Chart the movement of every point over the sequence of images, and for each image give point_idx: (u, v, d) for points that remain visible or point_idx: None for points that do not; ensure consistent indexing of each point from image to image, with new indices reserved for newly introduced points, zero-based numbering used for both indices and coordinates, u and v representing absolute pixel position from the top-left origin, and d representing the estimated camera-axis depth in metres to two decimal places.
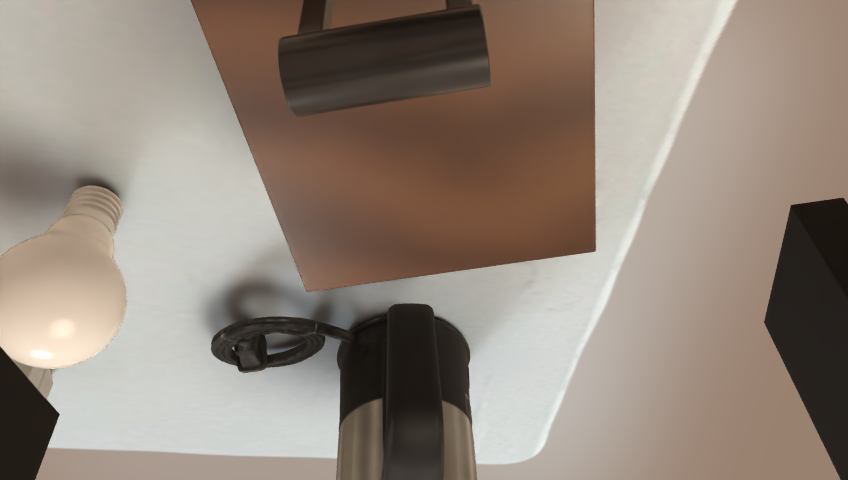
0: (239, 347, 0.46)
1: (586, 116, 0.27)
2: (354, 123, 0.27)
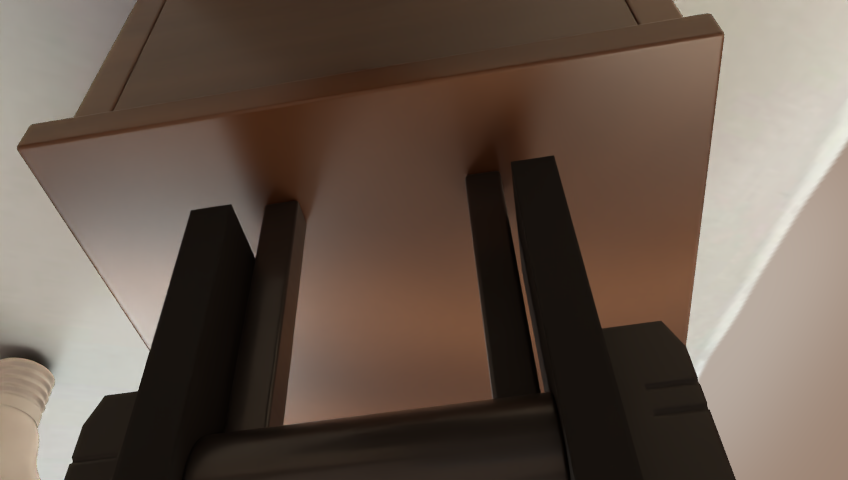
0: None
1: None
2: (338, 383, 0.19)
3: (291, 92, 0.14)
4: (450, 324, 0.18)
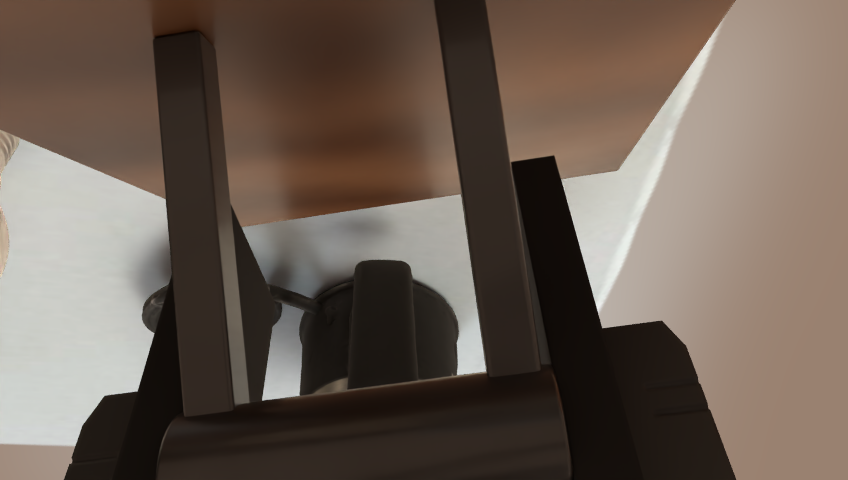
0: None
1: (653, 104, 0.17)
2: (279, 146, 0.16)
3: None
4: (408, 99, 0.15)
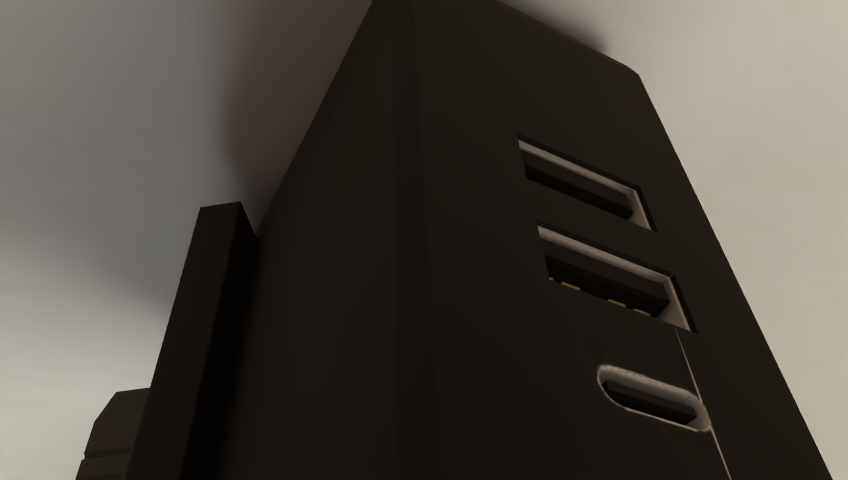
0: None
1: None
2: None
3: None
4: None
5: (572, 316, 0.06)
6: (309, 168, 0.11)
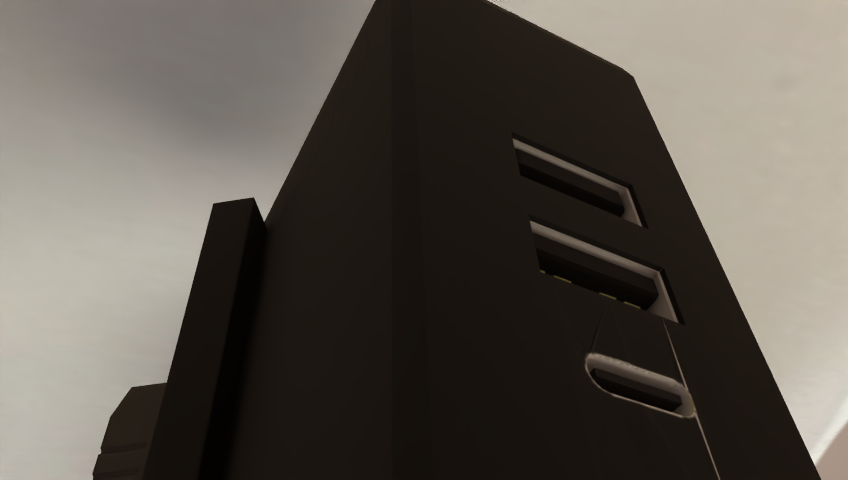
0: None
1: None
2: None
3: None
4: None
5: (562, 307, 0.07)
6: (311, 168, 0.12)
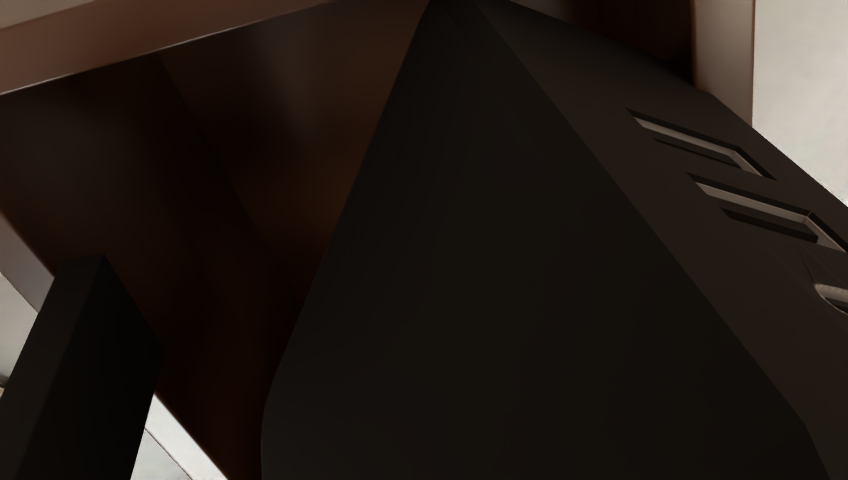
0: None
1: None
2: None
3: None
4: None
5: (766, 246, 0.06)
6: (380, 201, 0.11)
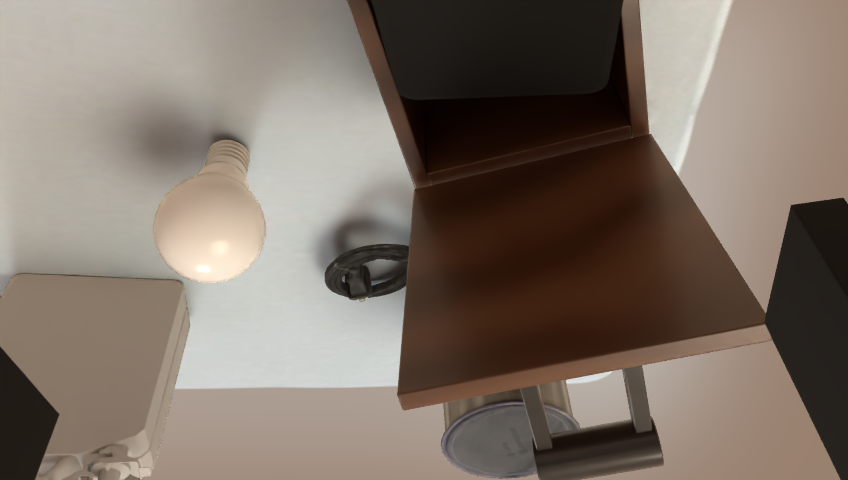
0: (349, 275, 0.54)
1: None
2: None
3: (544, 376, 0.26)
4: None
5: None
6: None
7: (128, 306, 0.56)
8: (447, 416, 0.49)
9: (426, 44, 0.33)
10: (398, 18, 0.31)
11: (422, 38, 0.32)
